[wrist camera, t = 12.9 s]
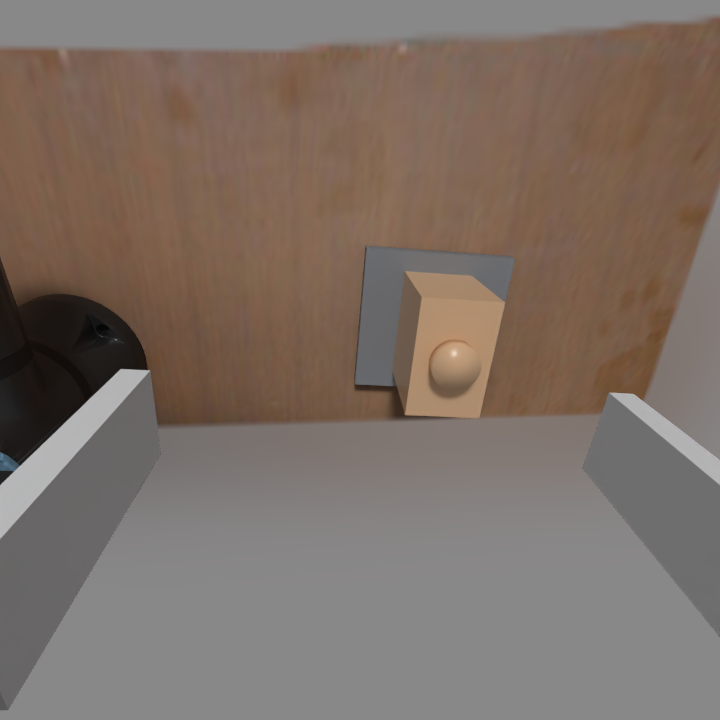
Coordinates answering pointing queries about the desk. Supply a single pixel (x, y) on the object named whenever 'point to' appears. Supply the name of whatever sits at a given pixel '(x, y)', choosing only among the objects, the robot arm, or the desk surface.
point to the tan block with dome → (445, 344)
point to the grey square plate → (386, 293)
